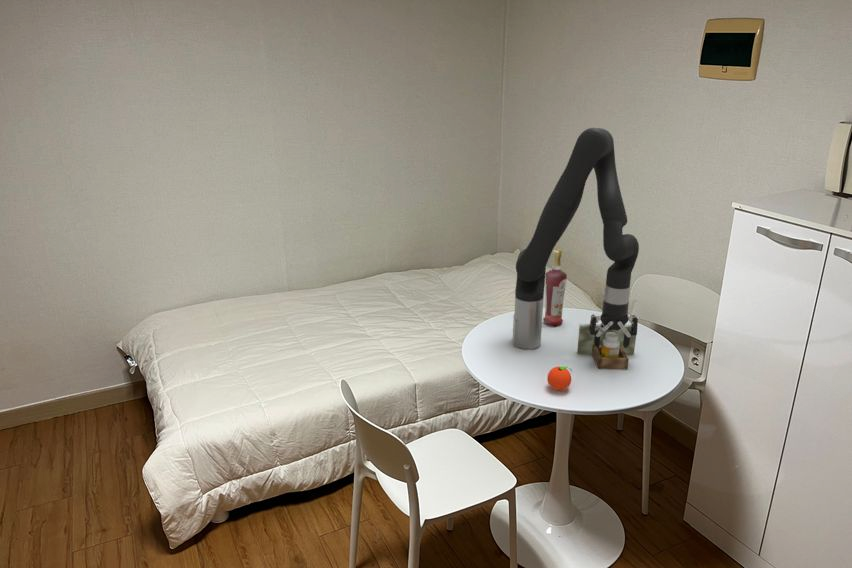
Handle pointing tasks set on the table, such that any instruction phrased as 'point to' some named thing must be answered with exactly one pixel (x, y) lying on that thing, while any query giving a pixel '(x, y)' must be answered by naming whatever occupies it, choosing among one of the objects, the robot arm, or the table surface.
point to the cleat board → (589, 347)
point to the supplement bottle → (610, 345)
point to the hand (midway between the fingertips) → (611, 346)
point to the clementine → (559, 378)
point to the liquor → (555, 291)
